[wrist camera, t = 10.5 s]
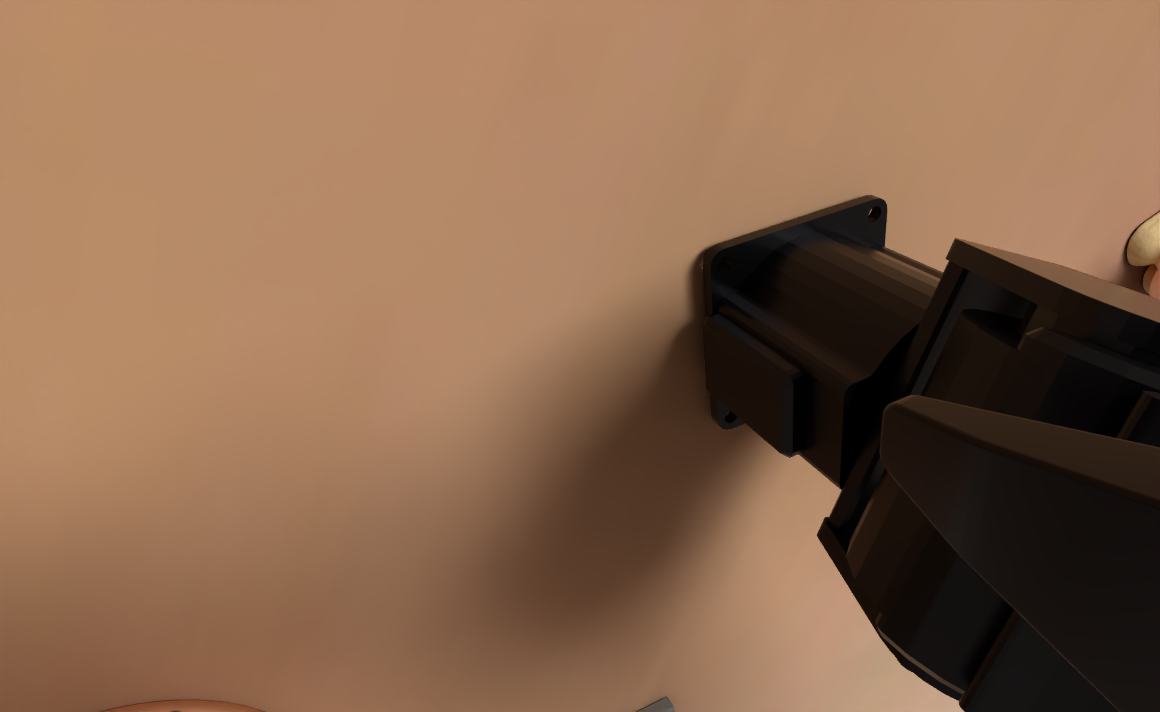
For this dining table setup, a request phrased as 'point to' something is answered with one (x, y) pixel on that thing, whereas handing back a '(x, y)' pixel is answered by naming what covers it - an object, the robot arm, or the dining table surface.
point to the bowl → (185, 707)
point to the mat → (660, 706)
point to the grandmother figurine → (1147, 254)
